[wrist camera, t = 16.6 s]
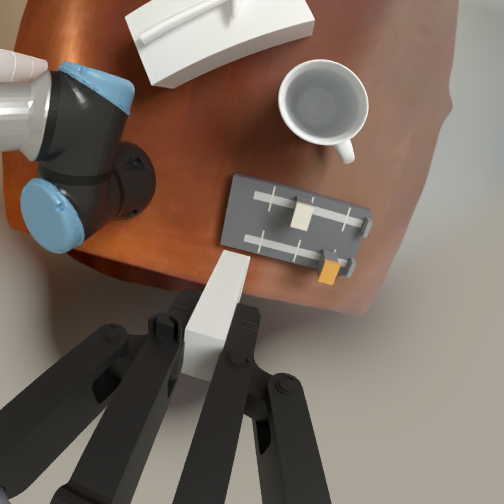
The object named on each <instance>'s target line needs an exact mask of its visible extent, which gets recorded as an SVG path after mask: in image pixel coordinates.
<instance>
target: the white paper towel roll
mask: <svg viewBox="0 0 504 504" xmlns="http://www.w3.org/2000/svg"><path fill="white" fill-rule="evenodd" d="M47 68H48V64H47V61H45V60H42V59H39V58H35V57H31V56H27V55H24V54H20V53H16V52H12V51H8V50H4V49H0V82H31V81H33V80H34V79H35V78H37V77H38V76H39V75H40V74H41V73H43V72H44V71H47Z"/></svg>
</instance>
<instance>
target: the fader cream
mask: <svg viewBox="0 0 504 504" xmlns="http://www.w3.org/2000/svg"><path fill="white" fill-rule="evenodd" d="M313 210H314V206H313V205H312V200H311V199H309V198H305V197H301V196H298V195H297V198H296V201H295V205H294V208H293V212H292V215H291V224H290V227H293V228H297V229H301V230H304V231H307V229H308V226H309V223H310V219H311V216H312V213H313Z"/></svg>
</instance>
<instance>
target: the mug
mask: <svg viewBox="0 0 504 504" xmlns="http://www.w3.org/2000/svg"><path fill="white" fill-rule="evenodd" d="M278 105H279V110H280V113H281V116H282V118H283V120H284V122H285V123H286V125H287V126H288V127H289V128H290V130H291V131H292V132H293V133H295V134H296V135H297V136H299V137H300V138H302V139H304V140H306V141H308V142H311V143H314V144H318V145H333V146H334V148H335V149H336V151H337V153H338V155H339V157H340V159H341V160H342V162H343V163H344V164H349V163H351V162H353V161H354V159H355V157H354V152H353V148H352V144H351V141H350V139H351V138H352V137H354V136H355V135H356V134H357V133H358V132H359V131H360V130H361V128H362V127H363V125H364V123H365V121H366V118H367V114H368V98H367V93H366V91H365V88H364V86H363V84H362V83H361V81H360V80H359V78H358V77H357V76H356V75H355V74H354V73H353V72H352V71H351V70H349V69H348V68H347V67H345V66H343V65H341V64H339V63H337V62H333V61H330V60H311V61H307V62H304V63H302V64H300V65H298V66H296V67H295V68H293V69H292V70H291V71H290V72H289V73H288V74H287V75H286V77H285V78H284V80H283V81H282V83H281V86H280V89H279V94H278Z"/></svg>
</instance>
